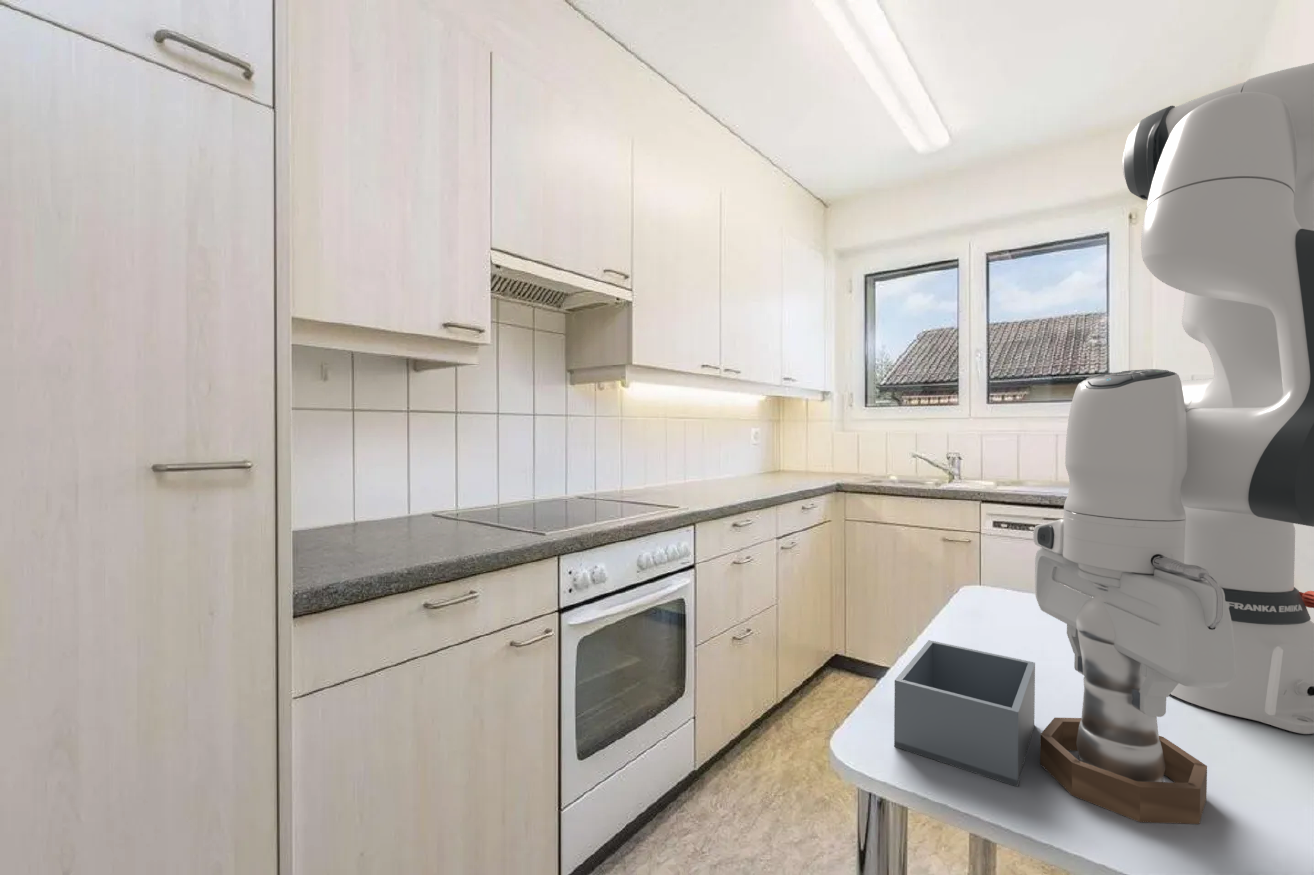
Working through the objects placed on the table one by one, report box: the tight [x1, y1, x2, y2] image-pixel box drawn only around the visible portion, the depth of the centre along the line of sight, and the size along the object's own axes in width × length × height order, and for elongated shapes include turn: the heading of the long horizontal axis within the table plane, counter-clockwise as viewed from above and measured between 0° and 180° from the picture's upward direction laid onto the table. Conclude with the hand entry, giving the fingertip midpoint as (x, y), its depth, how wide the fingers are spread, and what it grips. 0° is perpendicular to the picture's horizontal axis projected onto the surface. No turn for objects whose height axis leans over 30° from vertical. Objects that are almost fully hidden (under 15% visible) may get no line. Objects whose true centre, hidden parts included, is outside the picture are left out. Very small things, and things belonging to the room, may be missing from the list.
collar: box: [1039, 717, 1208, 825], centre depth 55 cm, size 12×12×3 cm
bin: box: [893, 639, 1036, 788], centre depth 63 cm, size 14×11×7 cm
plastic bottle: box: [1076, 582, 1165, 782], centre depth 55 cm, size 6×7×20 cm
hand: (1116, 692), depth 55 cm, fingers open, 6 cm apart
